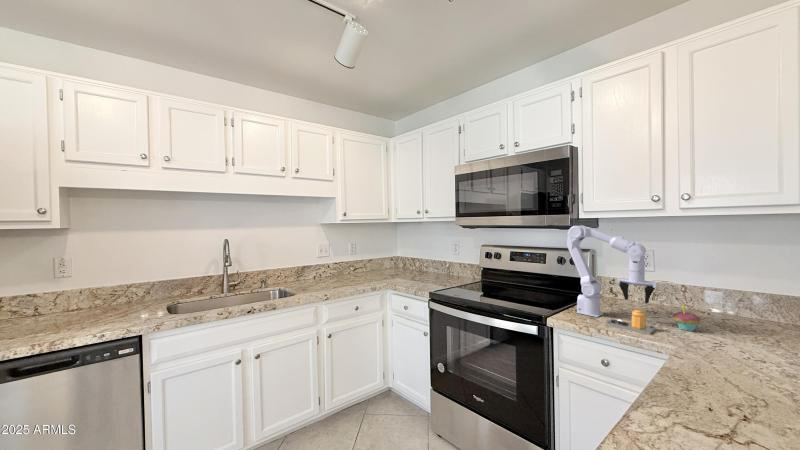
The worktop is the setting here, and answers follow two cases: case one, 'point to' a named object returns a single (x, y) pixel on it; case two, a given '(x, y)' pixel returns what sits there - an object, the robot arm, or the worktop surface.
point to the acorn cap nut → (639, 319)
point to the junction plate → (630, 326)
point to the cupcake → (686, 320)
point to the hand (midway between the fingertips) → (636, 301)
